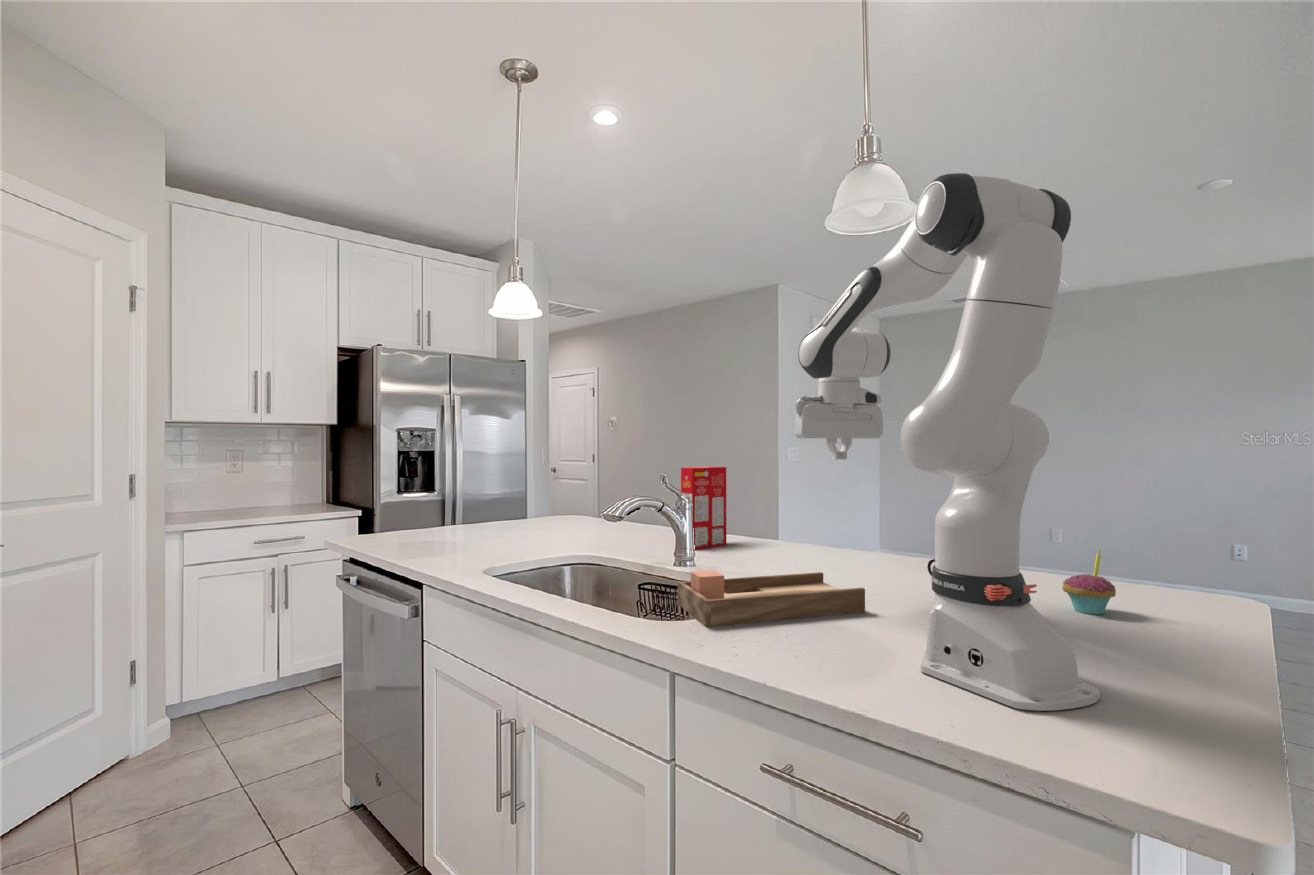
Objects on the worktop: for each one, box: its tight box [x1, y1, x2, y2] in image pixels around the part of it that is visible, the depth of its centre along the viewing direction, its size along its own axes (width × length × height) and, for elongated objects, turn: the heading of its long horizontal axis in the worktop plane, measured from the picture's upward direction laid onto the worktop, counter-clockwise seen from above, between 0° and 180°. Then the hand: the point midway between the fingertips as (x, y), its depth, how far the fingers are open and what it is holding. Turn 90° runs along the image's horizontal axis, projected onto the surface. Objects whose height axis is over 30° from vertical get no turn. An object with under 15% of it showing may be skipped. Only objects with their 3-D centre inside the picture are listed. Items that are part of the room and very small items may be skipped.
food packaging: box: [680, 466, 727, 551], centre depth 197 cm, size 15×5×25 cm, turn 130°
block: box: [690, 569, 725, 599], centre depth 121 cm, size 5×5×5 cm
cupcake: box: [1061, 549, 1117, 615], centre depth 121 cm, size 9×8×12 cm
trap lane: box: [676, 571, 866, 627], centre depth 124 cm, size 16×33×4 cm, turn 106°
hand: (839, 459), depth 137 cm, fingers closed
